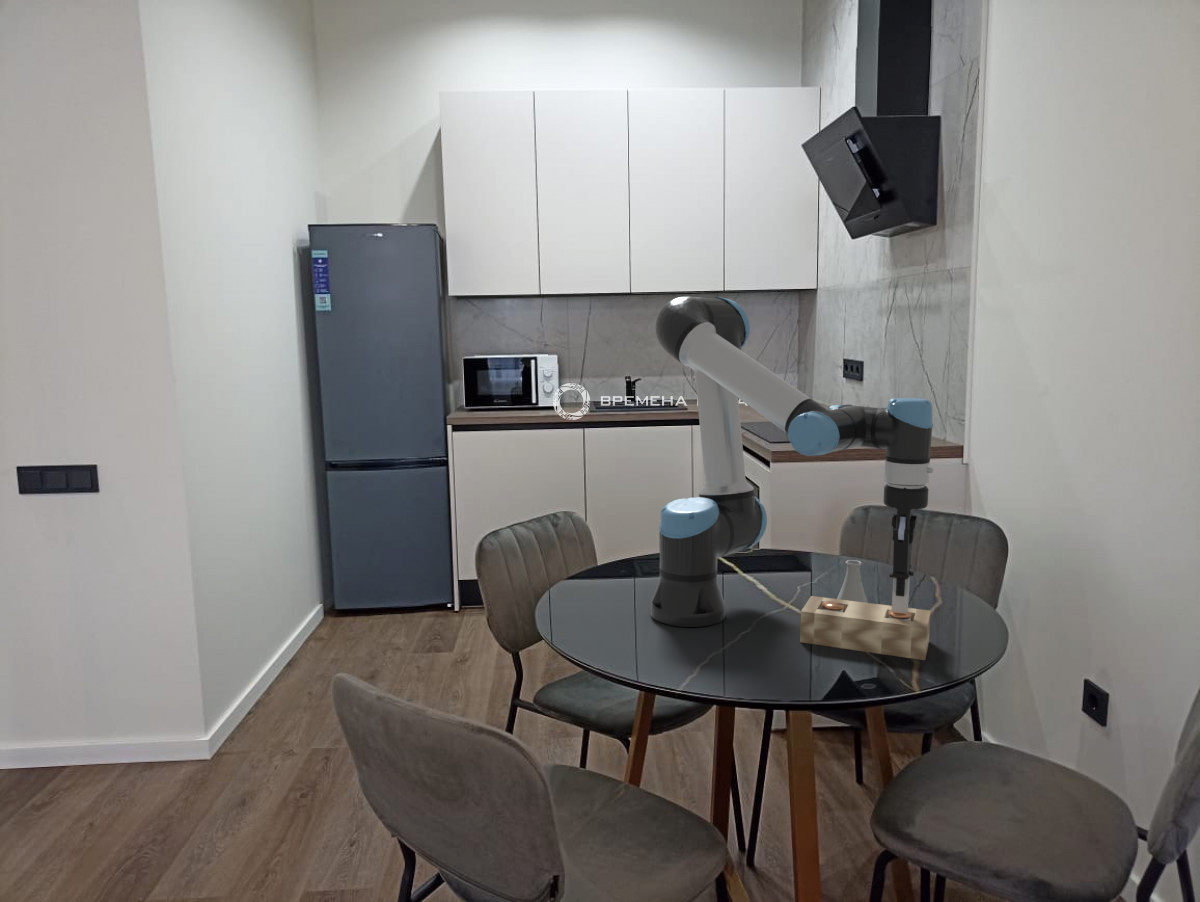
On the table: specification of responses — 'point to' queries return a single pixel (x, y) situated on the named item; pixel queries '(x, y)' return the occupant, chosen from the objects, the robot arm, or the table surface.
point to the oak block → (865, 628)
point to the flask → (852, 583)
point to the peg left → (832, 606)
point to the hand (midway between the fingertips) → (899, 611)
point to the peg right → (899, 615)
